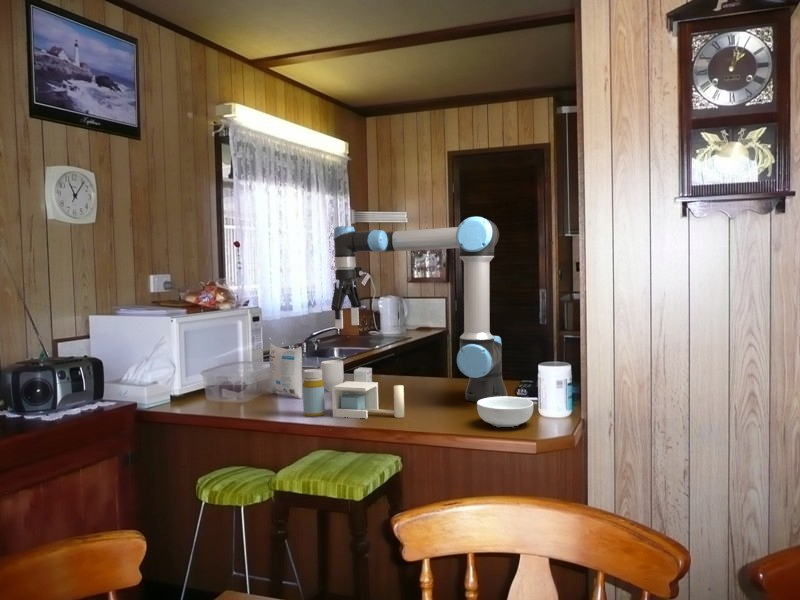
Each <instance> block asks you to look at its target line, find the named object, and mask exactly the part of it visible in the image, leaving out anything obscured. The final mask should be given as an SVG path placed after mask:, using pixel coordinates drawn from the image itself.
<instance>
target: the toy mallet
mask: <svg viewBox="0 0 800 600" xmlns="http://www.w3.org/2000/svg"><path fill="white" fill-rule="evenodd" d="M404 388H405V387H404V385H401V384H396V385H393V404H394V405H393V408H394V409H365V395H361V394H347V395H345V396H343V397H341V409H351V410H368V413H374V414H391V415H394V418H397V419H398V418H404V417H405V392H404V391H405V390H404Z"/></svg>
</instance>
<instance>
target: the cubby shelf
mask: <svg viewBox="0 0 800 600" xmlns="http://www.w3.org/2000/svg"><path fill="white" fill-rule="evenodd" d="M347 394H361V395H365V409H379V382H375V381H372V382H354V380H352V381H349V380H346V381H343V383H341V384H339V385H336V386H334V387H333V390H332V392H331V399H332V402H331V403H332V417H333V418H344V417H346V419H347V417H348V419H349V418H350V419H360V418H365V419H364V420H367V419H369V416H368V415H369V414H368V413H369V412H368V410H351V409H341V397H343V396H345V395H347Z"/></svg>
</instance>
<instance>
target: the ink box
mask: <svg viewBox="0 0 800 600" xmlns="http://www.w3.org/2000/svg"><path fill="white" fill-rule="evenodd" d="M353 382H373V368H372V367H357V368H355V369H354V370H353Z"/></svg>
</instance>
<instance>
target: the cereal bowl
mask: <svg viewBox="0 0 800 600" xmlns="http://www.w3.org/2000/svg"><path fill="white" fill-rule="evenodd" d="M476 409H477V413H478V416H479V417H480V418H481V419H482V420H483V421H484V422H485V423H488V424H491V425H492V426H493V427H495V426H496V428H500V427H512V428H515V427H514V426H517V427H518V426H520V425H521V424H524V423H526V422H527V421H529V420H530V419H531V417H532V416H533V413H534V402H533V401H532V400H531V399H528V398H524V397H519V396H508V395H507V396H500V397H489V398H484V399H481V400H479V401H478V402H476Z"/></svg>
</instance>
